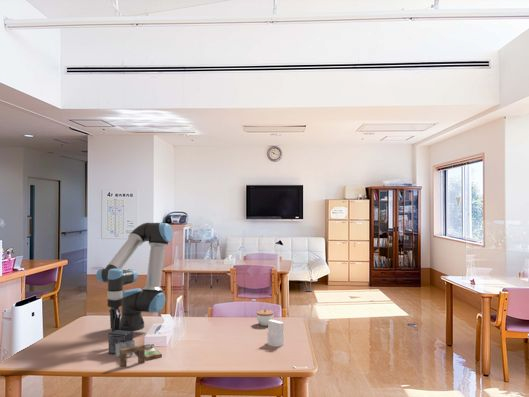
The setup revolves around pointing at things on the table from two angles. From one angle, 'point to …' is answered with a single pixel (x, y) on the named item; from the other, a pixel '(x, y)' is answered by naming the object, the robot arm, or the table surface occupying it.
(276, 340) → the white upright cylinder
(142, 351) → the gauge bench
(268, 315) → the lidded jar
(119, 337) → the small box
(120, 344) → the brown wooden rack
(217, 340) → the table surface
